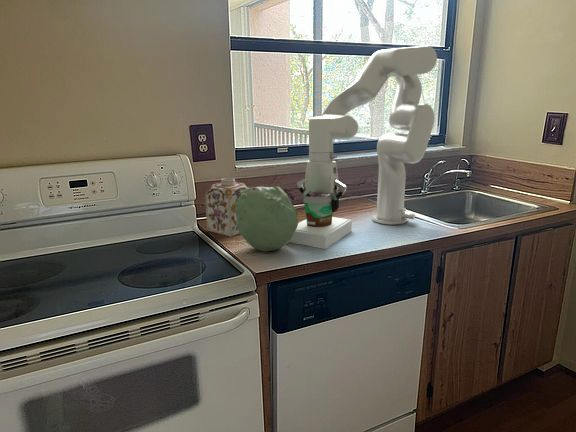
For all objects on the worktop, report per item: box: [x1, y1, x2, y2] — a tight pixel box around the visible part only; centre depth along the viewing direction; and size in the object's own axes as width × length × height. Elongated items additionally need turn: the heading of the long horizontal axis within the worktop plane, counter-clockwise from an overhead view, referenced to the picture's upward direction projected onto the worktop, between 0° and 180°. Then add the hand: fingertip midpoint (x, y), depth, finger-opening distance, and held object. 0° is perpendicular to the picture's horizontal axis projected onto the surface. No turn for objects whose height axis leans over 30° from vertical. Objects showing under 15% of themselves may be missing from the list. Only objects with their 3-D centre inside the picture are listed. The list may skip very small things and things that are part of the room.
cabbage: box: [234, 185, 299, 252], centre depth 135 cm, size 16×19×20 cm
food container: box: [303, 193, 334, 227], centre depth 146 cm, size 12×6×10 cm, turn 134°
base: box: [287, 216, 353, 250], centre depth 149 cm, size 14×20×4 cm
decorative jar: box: [204, 177, 249, 238], centre depth 154 cm, size 12×12×18 cm
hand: (321, 209), depth 147 cm, fingers open, 9 cm apart
